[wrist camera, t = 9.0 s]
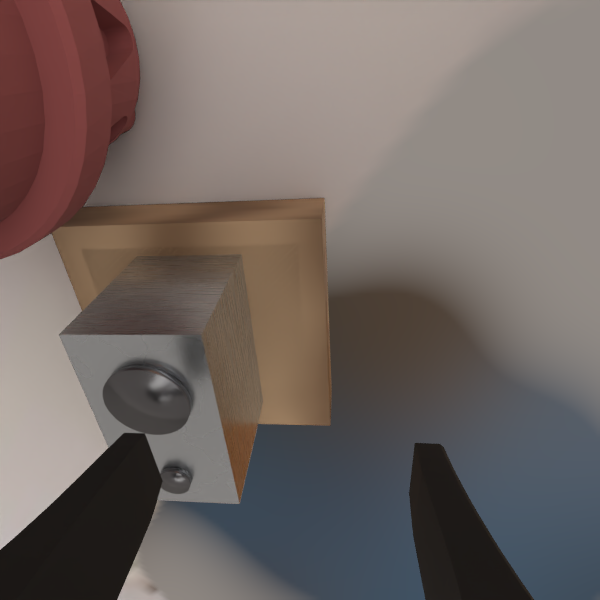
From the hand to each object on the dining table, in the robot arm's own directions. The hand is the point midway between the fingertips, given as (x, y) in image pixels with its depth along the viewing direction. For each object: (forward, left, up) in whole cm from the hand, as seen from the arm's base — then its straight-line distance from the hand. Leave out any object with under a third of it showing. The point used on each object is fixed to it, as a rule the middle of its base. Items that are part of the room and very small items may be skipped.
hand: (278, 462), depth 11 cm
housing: (+5, +1, -8) cm, 9 cm away
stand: (+5, +2, -10) cm, 11 cm away
